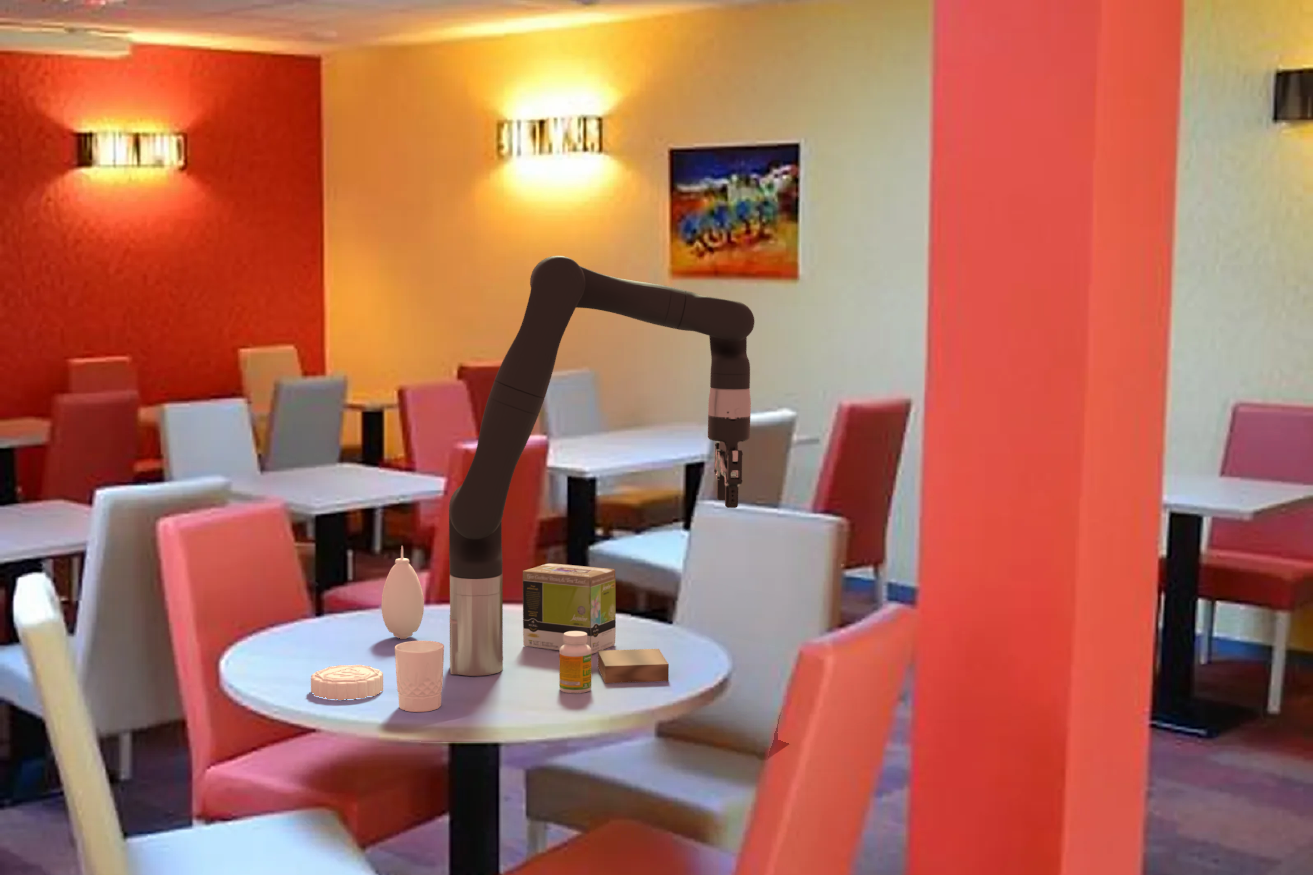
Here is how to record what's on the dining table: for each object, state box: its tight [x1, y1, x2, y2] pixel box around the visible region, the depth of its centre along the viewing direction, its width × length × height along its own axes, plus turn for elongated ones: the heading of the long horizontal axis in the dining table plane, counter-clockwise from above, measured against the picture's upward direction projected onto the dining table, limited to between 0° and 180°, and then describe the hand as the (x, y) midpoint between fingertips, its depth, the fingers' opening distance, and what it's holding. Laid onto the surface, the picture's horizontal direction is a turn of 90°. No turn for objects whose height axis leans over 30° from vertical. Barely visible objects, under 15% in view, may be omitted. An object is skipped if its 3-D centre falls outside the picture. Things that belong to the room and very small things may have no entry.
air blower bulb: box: [380, 545, 425, 640], centre depth 302 cm, size 8×8×18 cm
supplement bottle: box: [558, 631, 592, 694], centre depth 267 cm, size 5×5×10 cm
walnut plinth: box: [597, 648, 670, 684], centre depth 278 cm, size 11×11×3 cm
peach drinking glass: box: [394, 640, 445, 713], centre depth 256 cm, size 8×8×10 cm
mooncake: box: [310, 664, 384, 700], centre depth 265 cm, size 12×12×4 cm
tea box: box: [522, 562, 617, 655], centre depth 297 cm, size 15×10×15 cm
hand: (727, 503), depth 283 cm, fingers open, 8 cm apart
